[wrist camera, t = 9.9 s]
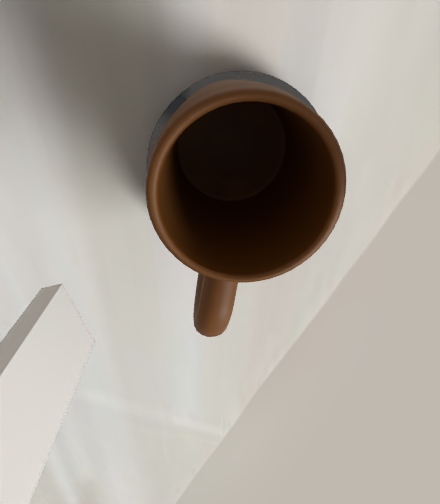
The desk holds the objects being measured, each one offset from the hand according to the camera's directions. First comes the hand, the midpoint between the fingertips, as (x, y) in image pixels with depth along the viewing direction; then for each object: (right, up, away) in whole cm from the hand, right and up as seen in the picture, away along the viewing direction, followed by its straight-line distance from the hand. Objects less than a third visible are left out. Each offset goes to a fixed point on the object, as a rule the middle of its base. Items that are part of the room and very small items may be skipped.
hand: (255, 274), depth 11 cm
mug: (-1, +5, +10) cm, 11 cm away
